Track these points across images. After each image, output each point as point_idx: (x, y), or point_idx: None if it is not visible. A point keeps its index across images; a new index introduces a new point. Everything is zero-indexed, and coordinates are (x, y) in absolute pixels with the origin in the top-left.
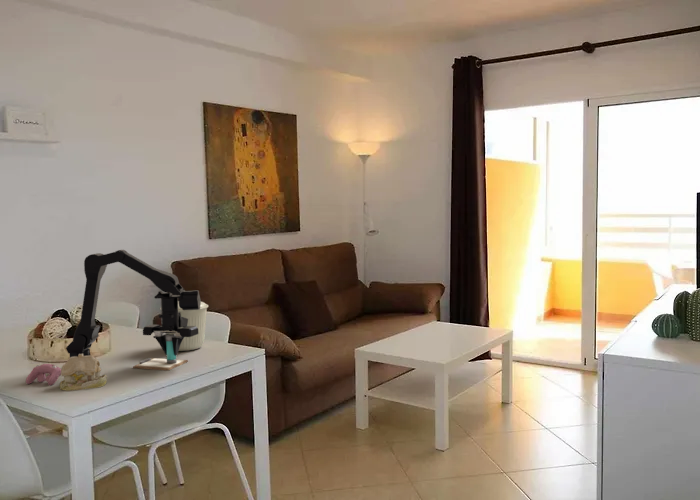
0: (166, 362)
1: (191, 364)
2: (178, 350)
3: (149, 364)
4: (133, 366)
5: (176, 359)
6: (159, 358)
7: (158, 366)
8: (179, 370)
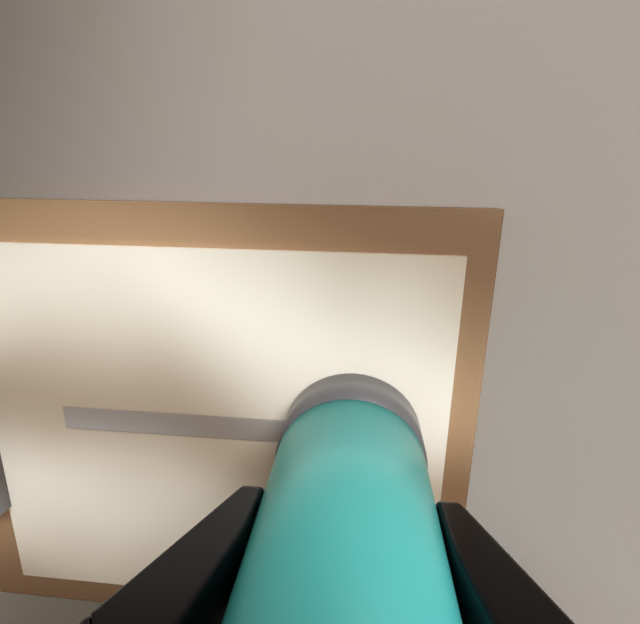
0: (273, 436)
1: (620, 343)
2: (516, 570)
3: (122, 534)
4: (2, 590)
5: (423, 442)
6: (2, 202)
7: None
8: (570, 607)
